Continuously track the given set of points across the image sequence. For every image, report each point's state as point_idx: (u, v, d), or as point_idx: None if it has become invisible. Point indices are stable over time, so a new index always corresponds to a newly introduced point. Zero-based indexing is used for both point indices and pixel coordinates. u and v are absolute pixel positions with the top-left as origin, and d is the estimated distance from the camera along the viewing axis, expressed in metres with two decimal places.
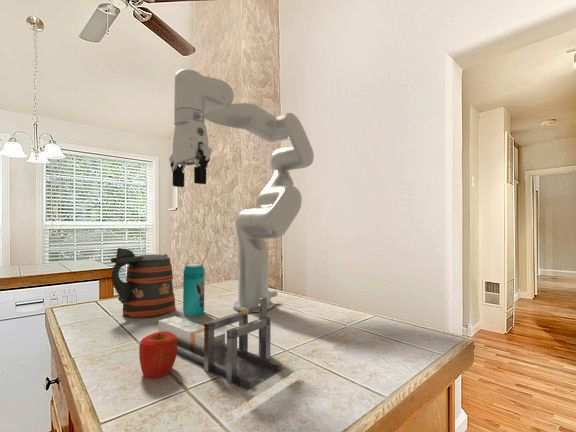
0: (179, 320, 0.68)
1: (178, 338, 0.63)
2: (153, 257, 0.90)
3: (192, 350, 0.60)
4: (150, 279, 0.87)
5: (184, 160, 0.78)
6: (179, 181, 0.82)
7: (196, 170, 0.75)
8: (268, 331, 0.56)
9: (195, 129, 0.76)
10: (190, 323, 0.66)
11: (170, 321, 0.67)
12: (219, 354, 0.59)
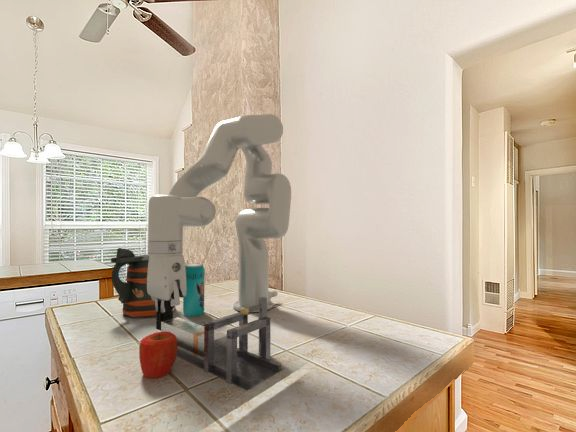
0: (182, 321, 0.67)
1: (181, 340, 0.62)
2: None
3: (195, 352, 0.59)
4: None
5: (158, 298, 0.68)
6: None
7: (161, 316, 0.69)
8: (268, 331, 0.56)
9: (170, 266, 0.67)
10: (193, 325, 0.65)
11: (173, 323, 0.66)
12: (223, 356, 0.58)
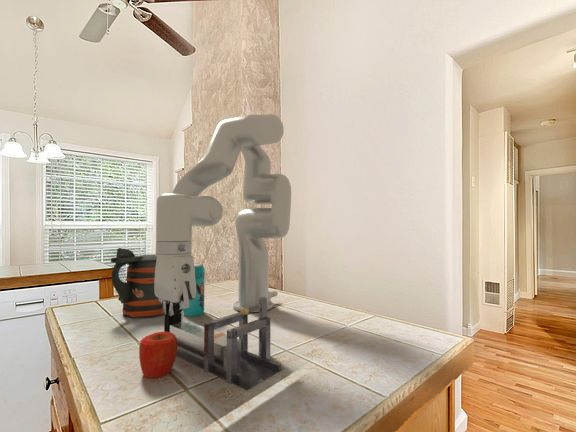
0: (191, 325, 0.65)
1: (191, 344, 0.60)
2: (153, 257, 0.90)
3: None
4: (150, 279, 0.87)
5: (167, 300, 0.66)
6: None
7: (169, 319, 0.66)
8: (268, 331, 0.56)
9: (180, 267, 0.64)
10: (203, 328, 0.63)
11: (182, 326, 0.64)
12: None
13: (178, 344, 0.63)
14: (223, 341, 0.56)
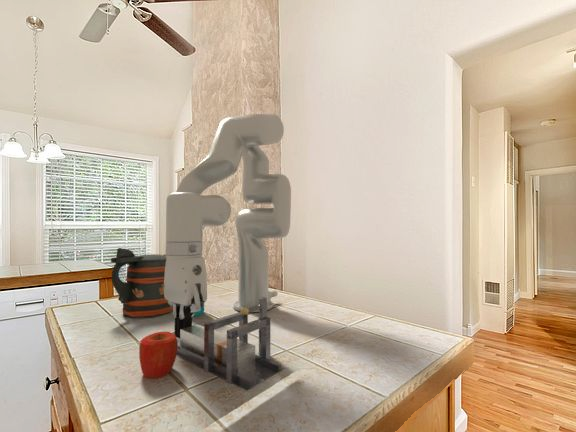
0: (202, 329, 0.62)
1: (203, 350, 0.57)
2: (153, 257, 0.90)
3: None
4: (150, 279, 0.87)
5: (177, 303, 0.64)
6: None
7: (179, 323, 0.64)
8: (268, 331, 0.56)
9: (191, 269, 0.62)
10: (215, 333, 0.60)
11: (193, 331, 0.61)
12: (249, 369, 0.53)
13: (189, 349, 0.60)
14: None
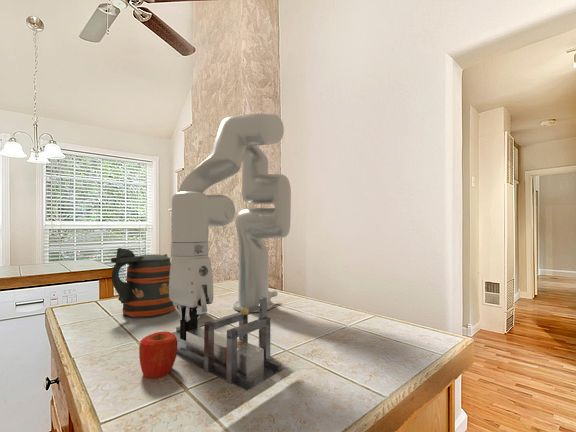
0: None
1: None
2: (153, 257, 0.90)
3: None
4: (150, 279, 0.87)
5: (183, 305, 0.62)
6: None
7: (185, 325, 0.62)
8: (268, 331, 0.56)
9: (197, 270, 0.60)
10: (222, 336, 0.59)
11: (200, 333, 0.60)
12: (258, 373, 0.52)
13: (195, 352, 0.59)
14: (245, 351, 0.52)
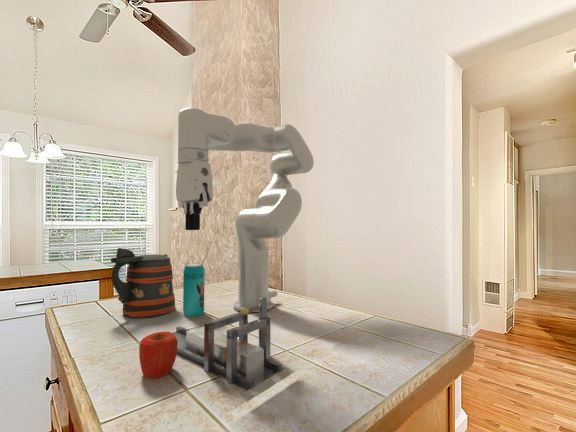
0: None
1: None
2: (153, 257, 0.90)
3: None
4: (150, 279, 0.87)
5: (188, 200, 0.76)
6: None
7: (190, 217, 0.76)
8: (268, 331, 0.56)
9: (199, 170, 0.74)
10: (222, 336, 0.59)
11: (200, 333, 0.60)
12: (258, 373, 0.52)
13: (195, 352, 0.59)
14: (245, 351, 0.52)
